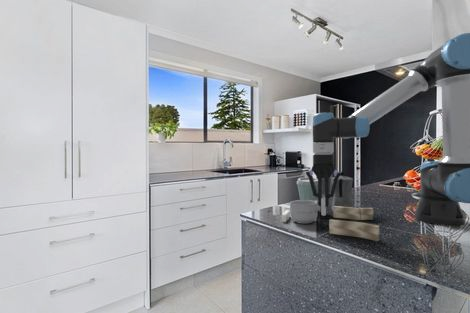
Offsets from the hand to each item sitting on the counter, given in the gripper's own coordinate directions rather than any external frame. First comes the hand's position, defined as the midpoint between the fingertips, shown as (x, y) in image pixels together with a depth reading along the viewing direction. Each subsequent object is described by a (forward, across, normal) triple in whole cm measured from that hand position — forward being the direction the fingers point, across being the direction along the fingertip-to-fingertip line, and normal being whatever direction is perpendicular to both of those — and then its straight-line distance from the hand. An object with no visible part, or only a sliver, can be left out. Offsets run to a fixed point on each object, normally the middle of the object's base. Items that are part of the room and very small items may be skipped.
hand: (323, 214), depth 97 cm
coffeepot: (+4, +6, +21) cm, 22 cm away
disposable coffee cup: (+4, -8, +17) cm, 19 cm away
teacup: (+4, -6, 0) cm, 7 cm away
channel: (+3, +10, 0) cm, 11 cm away
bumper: (+3, -15, 0) cm, 15 cm away
